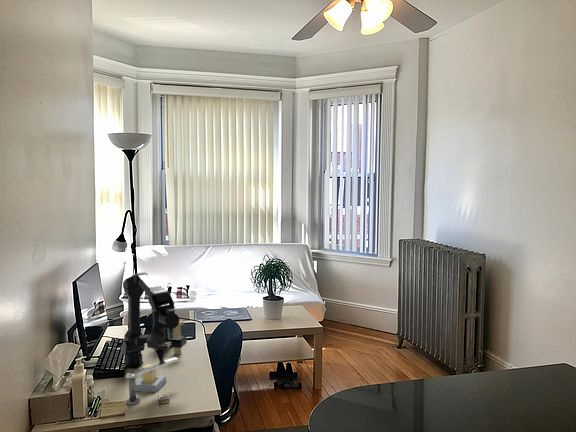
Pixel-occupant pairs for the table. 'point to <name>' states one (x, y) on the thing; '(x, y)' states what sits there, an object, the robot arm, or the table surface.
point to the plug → (149, 375)
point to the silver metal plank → (150, 368)
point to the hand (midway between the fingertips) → (161, 362)
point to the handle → (177, 333)
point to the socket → (150, 384)
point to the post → (132, 393)
